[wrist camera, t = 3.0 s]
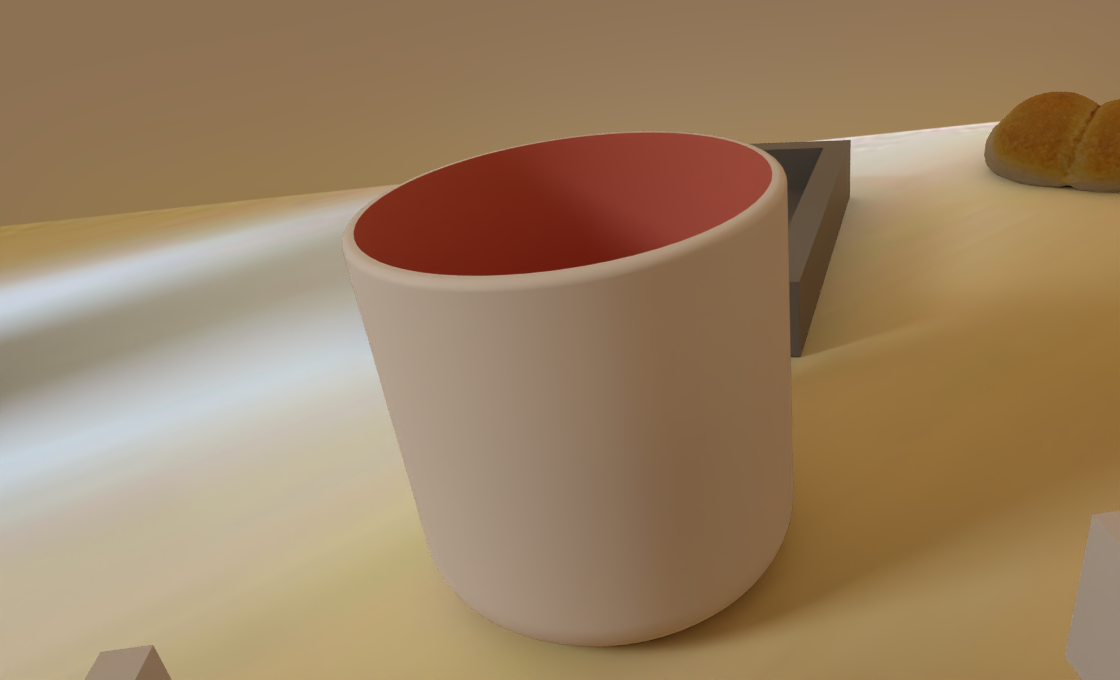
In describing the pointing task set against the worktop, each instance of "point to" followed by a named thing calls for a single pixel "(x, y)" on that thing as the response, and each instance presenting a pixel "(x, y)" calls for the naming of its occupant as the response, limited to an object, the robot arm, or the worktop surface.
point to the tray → (811, 220)
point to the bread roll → (1058, 143)
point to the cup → (589, 375)
